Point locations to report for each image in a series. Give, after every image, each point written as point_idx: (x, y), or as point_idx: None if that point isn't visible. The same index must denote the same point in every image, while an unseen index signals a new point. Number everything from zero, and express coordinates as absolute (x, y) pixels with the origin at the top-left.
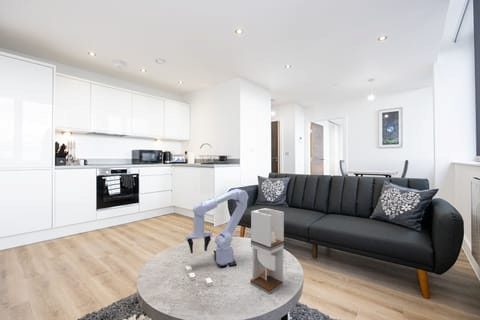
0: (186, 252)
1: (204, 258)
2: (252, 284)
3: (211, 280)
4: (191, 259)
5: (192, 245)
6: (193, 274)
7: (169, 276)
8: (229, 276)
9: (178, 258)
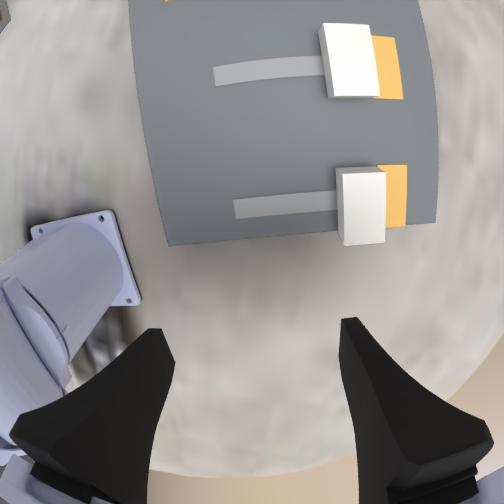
0: (296, 430)
1: (202, 363)
2: (6, 12)
3: None
4: (286, 373)
5: (386, 402)
6: (339, 55)
7: (464, 205)
8: (63, 88)
9: None
